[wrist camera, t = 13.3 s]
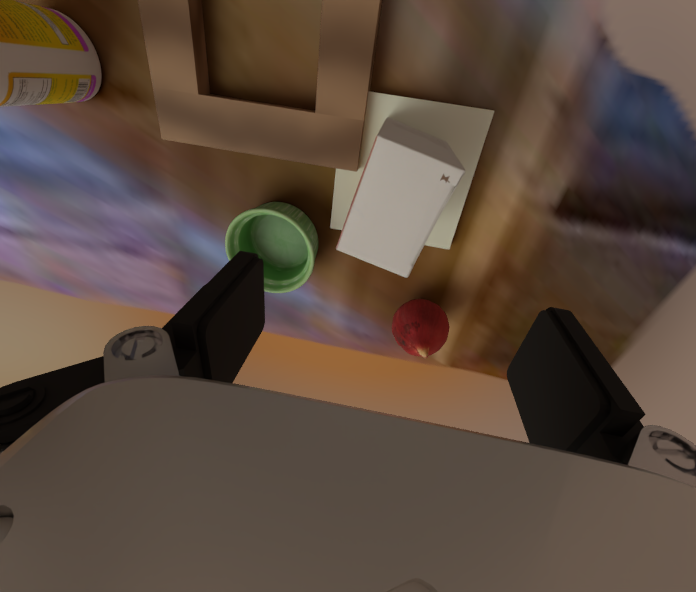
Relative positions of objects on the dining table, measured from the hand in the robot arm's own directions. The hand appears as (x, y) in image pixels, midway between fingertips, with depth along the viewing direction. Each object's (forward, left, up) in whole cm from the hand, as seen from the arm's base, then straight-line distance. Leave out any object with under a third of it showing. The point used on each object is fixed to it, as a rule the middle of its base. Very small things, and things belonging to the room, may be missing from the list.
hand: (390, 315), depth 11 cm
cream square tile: (0, 0, -23) cm, 23 cm away
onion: (+14, +5, -23) cm, 27 cm away
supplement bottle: (-5, -31, -23) cm, 39 cm away
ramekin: (+9, -11, -23) cm, 27 cm away
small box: (0, 0, -22) cm, 22 cm away
